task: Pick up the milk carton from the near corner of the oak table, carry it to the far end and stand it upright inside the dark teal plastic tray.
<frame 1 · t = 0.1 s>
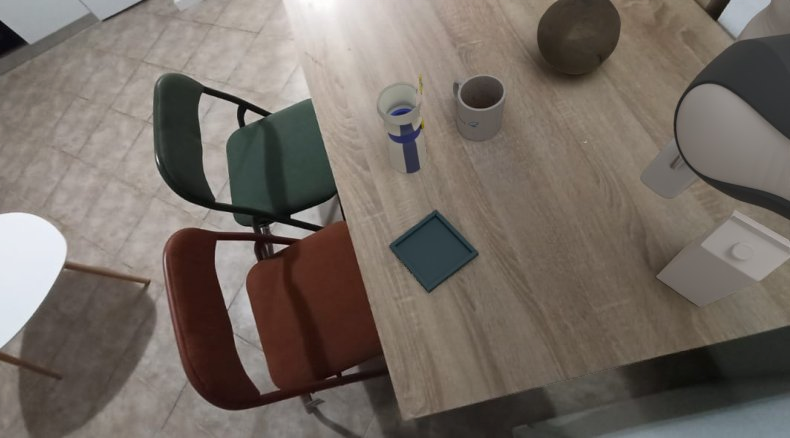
hand: (703, 158, 48), 30 cm above the table, tool pointing down, fingers open, 8 cm apart
milk carton: (691, 277, 70), on the table
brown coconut: (567, 63, 92), on the table
tray: (432, 251, 83), on the table
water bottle: (408, 157, 93), on the table
mug: (474, 117, 93), on the table
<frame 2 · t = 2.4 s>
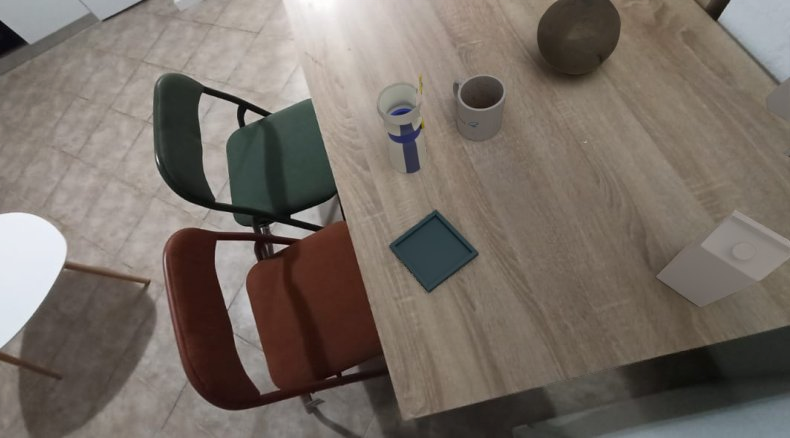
nothing on the table moved.
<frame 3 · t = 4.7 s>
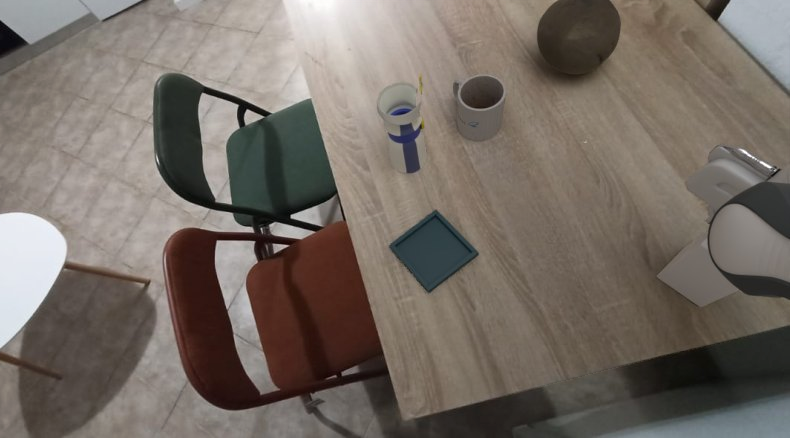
hand: (745, 244, 57), 15 cm above the table, tool pointing down, fingers closed on milk carton, 7 cm apart
milk carton: (691, 277, 70), on the table, touching gripper
everything else where it was.
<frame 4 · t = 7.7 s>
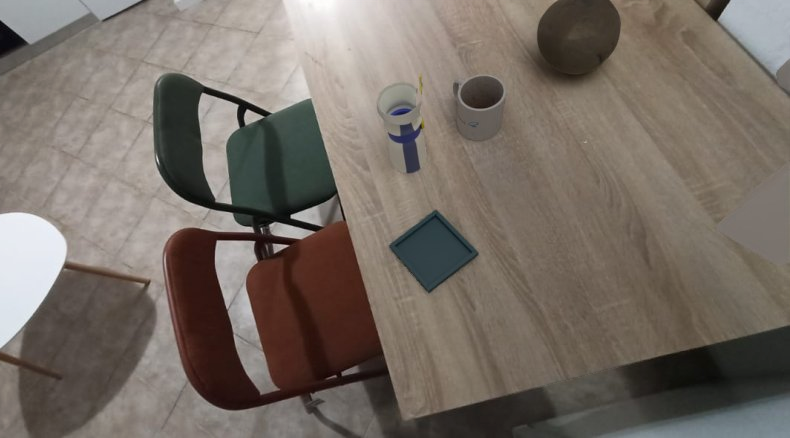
milk carton: (762, 228, 53), point 20 cm above the table, touching gripper
everything else where it was.
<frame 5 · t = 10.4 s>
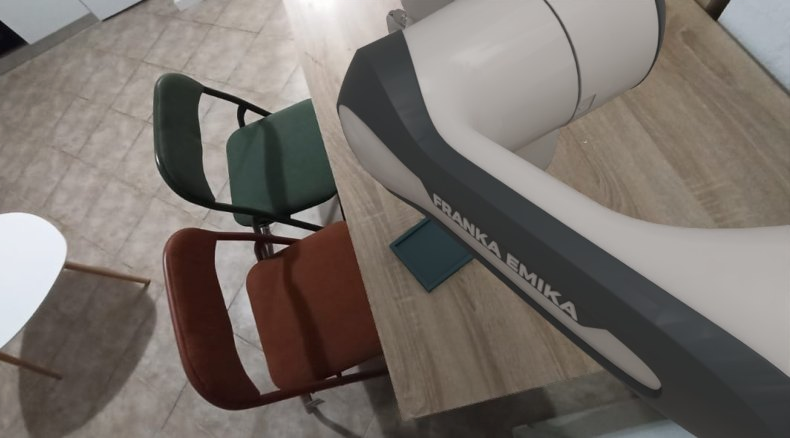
hand: (458, 144, 50), 37 cm above the table, tool pointing down, fingers closed on milk carton, 7 cm apart
milk carton: (457, 201, 63), point 22 cm above the table, touching gripper
everything else where it was.
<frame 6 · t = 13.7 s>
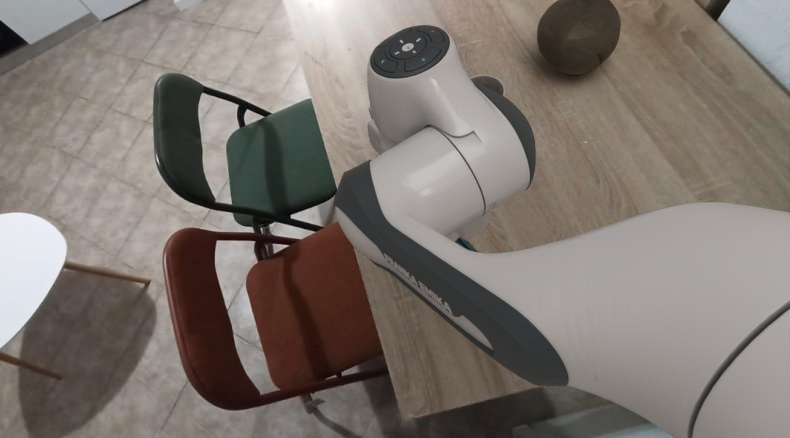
hand: (426, 199, 64), 23 cm above the table, tool pointing down, fingers closed on milk carton, 7 cm apart
milk carton: (431, 236, 77), point 8 cm above the table, touching gripper
everything else where it was.
when the fingers open (15 cm above the table, at t = 16.2 s): milk carton stays where it is, resting on tray.
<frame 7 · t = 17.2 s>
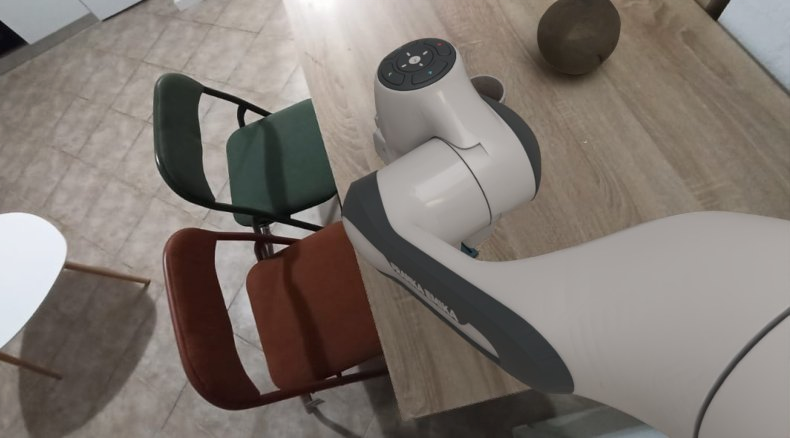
hand: (431, 206, 64), 22 cm above the table, tool pointing down, fingers open, 8 cm apart
milk carton: (433, 251, 83), resting on tray
everything else where it was.
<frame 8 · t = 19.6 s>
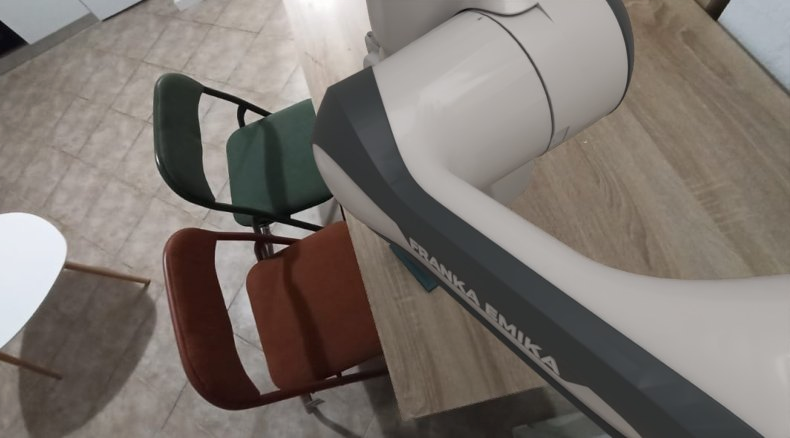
hand: (439, 163, 49), 37 cm above the table, tool pointing down, fingers open, 8 cm apart
nothing on the table moved.
at the end: milk carton inside the target area in the tray (0.1 cm from its centre), point 0.1 cm above the tray's base; milk carton tilted 0°; the gripper is holding nothing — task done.
